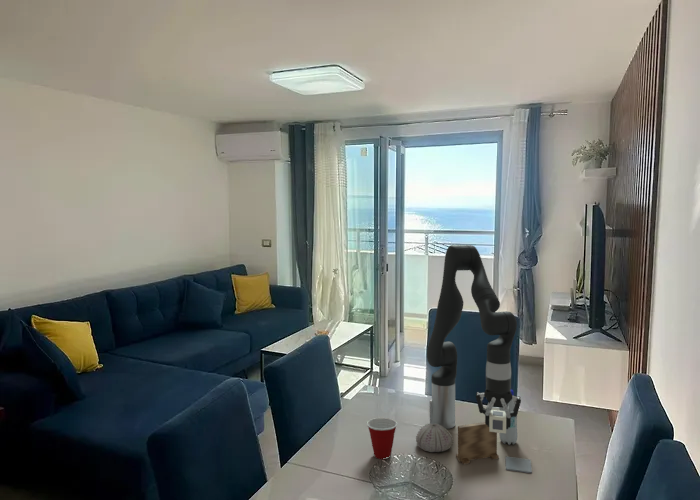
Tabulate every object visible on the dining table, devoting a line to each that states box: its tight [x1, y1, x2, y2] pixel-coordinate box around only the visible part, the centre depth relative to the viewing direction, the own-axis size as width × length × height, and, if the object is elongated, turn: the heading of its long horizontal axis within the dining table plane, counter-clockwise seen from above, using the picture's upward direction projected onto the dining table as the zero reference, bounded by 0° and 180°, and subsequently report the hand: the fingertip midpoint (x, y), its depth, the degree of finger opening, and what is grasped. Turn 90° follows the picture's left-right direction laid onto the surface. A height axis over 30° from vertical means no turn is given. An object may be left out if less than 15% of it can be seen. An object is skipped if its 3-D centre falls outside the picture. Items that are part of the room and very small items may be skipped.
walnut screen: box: [455, 421, 500, 465], centre depth 164 cm, size 14×5×12 cm, turn 104°
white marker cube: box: [489, 409, 506, 434], centre depth 151 cm, size 5×5×5 cm
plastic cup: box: [366, 417, 398, 460], centre depth 168 cm, size 11×11×12 cm
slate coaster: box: [505, 455, 533, 474], centre depth 159 cm, size 8×8×1 cm
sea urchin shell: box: [415, 423, 454, 453], centre depth 173 cm, size 13×14×8 cm
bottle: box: [498, 388, 518, 446], centre depth 175 cm, size 7×7×20 cm
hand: (497, 426), depth 151 cm, fingers closed on white marker cube, 5 cm apart
